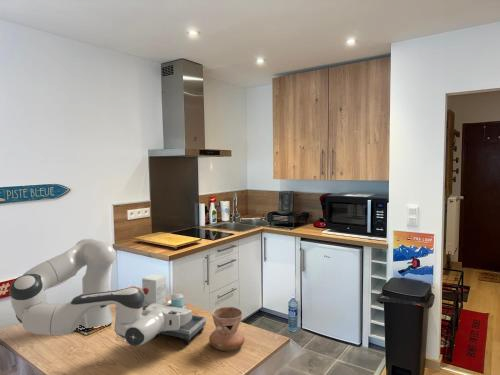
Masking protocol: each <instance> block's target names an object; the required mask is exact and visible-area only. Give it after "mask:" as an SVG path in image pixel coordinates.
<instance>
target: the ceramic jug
mask: <svg viewBox="0 0 500 375" xmlns="http://www.w3.org/2000/svg"><path fill="white" fill-rule="evenodd" d="M211 315H212V320H213V324H214V326H215V329H214V330H213V331H212V332H211V333H210V334H209V337H208V338H209V339H208V340H209V343H210V345H211V347H212V348H214V349H215V350H218V351H222V352H231V351H234V350H237V349H240V348H241V347H242V346H243V345H244V343H245V341H246V340H245V335H244V332H242V331H241V330H239V329H238V328H239V327H240V323H241V322H242V318H243V311H242V310H241V309H240V308H238V307H234V306H220V307H217V308H215V309H214V310H213V311H212V314H211Z"/></svg>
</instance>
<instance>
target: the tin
mask: <svg viewBox="0 0 500 375" xmlns="http://www.w3.org/2000/svg"><path fill="white" fill-rule="evenodd" d="M170 298H171V299H170V300H171V306H173V307H178V308H181V306H183V305H185V304H184V293H180V292H179V293H173V294H172V295H171V296H170Z"/></svg>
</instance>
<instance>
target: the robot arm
mask: <svg viewBox="0 0 500 375" xmlns="http://www.w3.org/2000/svg"><path fill="white" fill-rule="evenodd" d="M116 258H117V254H116V250H115V249H114V247H112V246H111V245H110V244H109V243H107V242H103V241H101V240H96V239H93V238H86V239H85V238H84V239H81V240H79V241H77V242H76V243H75V245H74V246H73V247H70V248H69V249H68V250H66V251H65V252H63V253H60V254H59V255H56V256H54V257H51V258H50V259H47V260H45V261H43V262H41V263H38V264H37V265H35V266H33V267H32V268H30V269H29V270H27V271H25V272H24V273H23V274H22V275H20V276H19V277H17V278H16V279H13V281H12V282H11V284H10V286H9V296H10V302H11V307H12V308H13V311H14V314H15V317H16V319H17V321H18V322H19V323H20V324H21V325H22V328H23V329H24V331H26V332H28V333H31V334H37V335H44V336H45V335H46V336H65V335H69V334H71V333H73V332H74V331H76V328H78V329H80V330H82V329H85V328H90V327H98V326H104V327H106V326H109V325H110V324H111V323H113V321H114V319H113V313H112V308H111V305H115V306H116V311H115V317H114V318H115V322H114V331H115V333H116V334H117V335H118V336H120V338H122V339H125V340H126V342H127V344H128V345H130V346H133V347H139V346H142V345H145V344H146V343H148V342H150V341H151V340H152V339H154V338H156V337H155V336H156V335H157V334H158V333H159V334H161V333H160V332H162V331H168V330H179V329H180V326H183V325H185V324H186V323H188V322H189V321H190V320H191V319H192V315H193V309H188V308H187V305H185V304H184V305H183V306H181V308H178V307H173V306H171V303H170V304H167V303H166V304H165V305H164V304H162V305H161V304H156V303H154V304H151V305H149V306H148V307H147V306H146V307H145V309H144V310H143V308H144V306H143V304H144V299H145V296H144V294H143V293H142V290H140V289H139V288H137V287H127V288H122V289H116V290H112V291H111V290H109V272H110V269H111V266H112V264H114V261H115V260H116ZM83 267H86V269H85V274H84V275H83V277H82V279H81V280H82V284H81V285H82V293H81V294H80V295H77V296H75V297H74V298H72V299H71V301H68V302H65V303H64V302H63V303H47V295H46V293H45V292H46V290H47V289H49V288H53V287H55V286H56V285H60V283H63V282H65V281H66V280H67V281H68V280H69V279H71V278H72V277H74V276H76V275H77V273H78V272H79V271H80V270H81V269H83ZM79 325H82V326H84V327H85V328H83V327H82V328H79V327H81V326H79ZM105 325H106V326H105Z"/></svg>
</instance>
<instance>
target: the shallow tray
mask: <svg viewBox="0 0 500 375" xmlns="http://www.w3.org/2000/svg"><path fill="white" fill-rule="evenodd" d="M206 319H207V318H206V317H205V316H202V315H201V316H200V315H196V314H192V319H191V320H190V321H189V322H188V323H186V324H185V325H183V326H180V329H179V330H168V331H162V332H160V333H158V334H157V335H156V336H155V337H154V338H157V337H159V335H161V334H162V335H167V336H171V337H175V338H176V337H177V338H180V339H183V340H182V341H183V344H185V345H189V344H190V343H191V341H192V338H193V337H194V336H195V335H196V334H197V333H202V332H203V331H204V328H205V326H206V324H207V322H206V321H207V320H206Z"/></svg>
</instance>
